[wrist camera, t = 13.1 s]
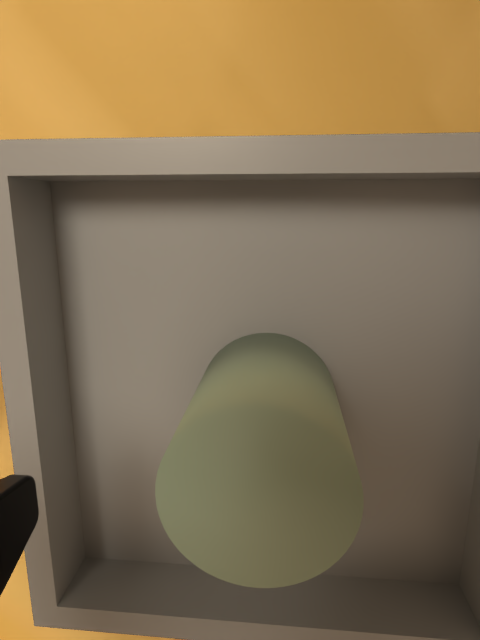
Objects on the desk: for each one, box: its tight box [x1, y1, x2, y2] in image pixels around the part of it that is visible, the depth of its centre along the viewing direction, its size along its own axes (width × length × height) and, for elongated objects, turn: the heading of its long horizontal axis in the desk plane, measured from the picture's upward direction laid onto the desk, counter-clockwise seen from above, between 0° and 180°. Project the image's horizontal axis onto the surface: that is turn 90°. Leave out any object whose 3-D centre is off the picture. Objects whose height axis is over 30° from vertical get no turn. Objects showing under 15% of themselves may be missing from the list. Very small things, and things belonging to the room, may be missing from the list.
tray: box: [0, 132, 480, 640], centre depth 13 cm, size 14×14×3 cm
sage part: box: [155, 333, 364, 588], centre depth 11 cm, size 4×4×5 cm
